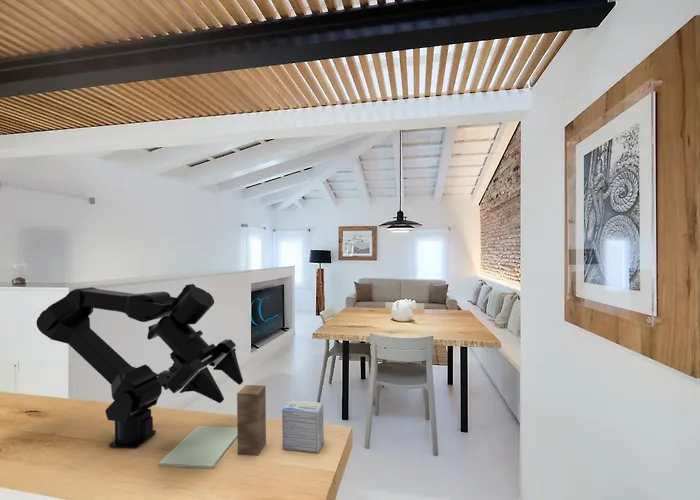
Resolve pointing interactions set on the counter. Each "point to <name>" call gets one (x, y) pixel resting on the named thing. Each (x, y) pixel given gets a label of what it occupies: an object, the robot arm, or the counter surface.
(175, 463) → the rubber mat
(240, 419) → the walnut block
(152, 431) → the robot arm
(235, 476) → the counter surface
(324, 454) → the counter surface
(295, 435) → the medicine box
